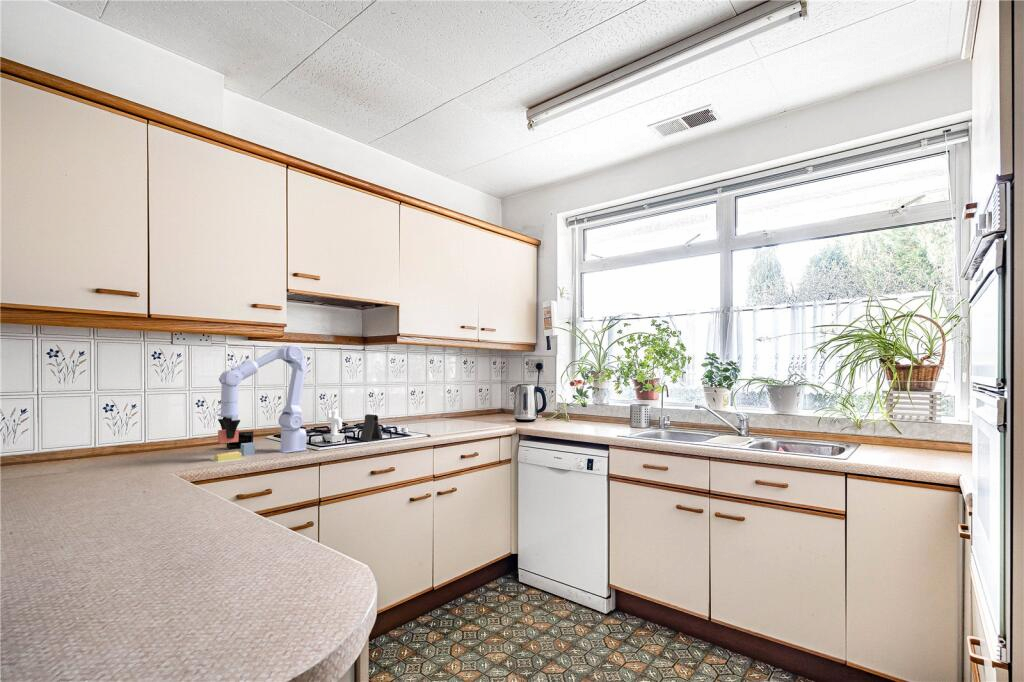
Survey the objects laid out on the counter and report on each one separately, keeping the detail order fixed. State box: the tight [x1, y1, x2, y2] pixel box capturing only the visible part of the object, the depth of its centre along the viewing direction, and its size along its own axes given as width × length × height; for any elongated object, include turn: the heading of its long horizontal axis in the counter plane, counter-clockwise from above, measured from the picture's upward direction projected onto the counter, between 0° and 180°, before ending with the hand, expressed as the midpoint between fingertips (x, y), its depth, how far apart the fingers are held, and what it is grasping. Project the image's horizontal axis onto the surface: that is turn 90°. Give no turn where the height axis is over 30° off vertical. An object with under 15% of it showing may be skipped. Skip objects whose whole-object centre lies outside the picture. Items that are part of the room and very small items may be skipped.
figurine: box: [322, 409, 346, 442], centre depth 233 cm, size 7×9×15 cm
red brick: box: [217, 428, 240, 444], centre depth 193 cm, size 6×4×4 cm, turn 135°
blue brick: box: [240, 442, 256, 457], centre depth 202 cm, size 4×4×4 cm
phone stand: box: [359, 413, 383, 442], centre depth 241 cm, size 9×6×12 cm, turn 148°
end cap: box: [226, 431, 254, 451], centre depth 217 cm, size 10×7×7 cm
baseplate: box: [210, 457, 246, 464], centre depth 193 cm, size 10×10×1 cm
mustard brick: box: [213, 450, 243, 461], centre depth 193 cm, size 8×5×2 cm, turn 135°
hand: (228, 437), depth 193 cm, fingers closed on red brick, 4 cm apart
